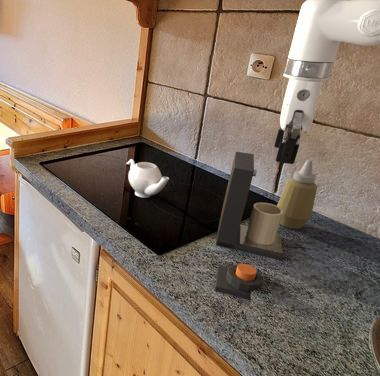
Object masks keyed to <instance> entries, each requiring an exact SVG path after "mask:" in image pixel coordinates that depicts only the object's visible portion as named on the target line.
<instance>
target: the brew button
mask: <svg viewBox="0 0 380 376" xmlns="http://www.w3.org/2000/svg"><path fill="white" fill-rule="evenodd" d="M237 265H238V266H237V269H236V273H235V274H236V276H237V277H238V278H240V279H242V280H245V281H254V279H255V276H256V273H257V271H258V270H257V269H256V268H255V267H254V266H252V265H250V264H248V263H239V264H237Z"/></svg>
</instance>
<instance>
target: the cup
mask: <svg viewBox="0 0 380 376" xmlns="http://www.w3.org/2000/svg"><path fill="white" fill-rule="evenodd" d="M282 216H283V210H282V209H281V208H280V207H278V206H277V204H273V203H269V202H255V203H254V204H253V207H252V210H251V213H250V217H249V221H248V224H247V225H248V228H247V231H246V237H247V238H248V239H249V240H251V241H253V242H255V243H258V244H263V245H270V244H273V243H274V241H275V238H276V235H277V232H278V231H279V228H280V225H281V224H280V222H281V219H282Z"/></svg>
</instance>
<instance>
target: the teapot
mask: <svg viewBox="0 0 380 376" xmlns="http://www.w3.org/2000/svg"><path fill="white" fill-rule="evenodd" d="M125 164H126V165H130V169H129V171H128V176H127V178H128V179H127V180H128V182H129V184H130V186H131V188H132V190H134V195H135V196H137V197H139V198H144V199H146V198H150V197H151V196H155V195H158V194H159V193H160V192H162V190H164V188H165V187H166V185H167V184H168V182H169V180H170V178H169V177H168V176H163V174H162V173H161V170H160V168H159V167H158V166H157V165H156V164H154V163H152V162H147V161H140V162H137V163H135V160H134V159H133V158H130V159H129V160H128V161H127V162H126V163H125Z"/></svg>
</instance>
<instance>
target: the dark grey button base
mask: <svg viewBox="0 0 380 376" xmlns="http://www.w3.org/2000/svg"><path fill="white" fill-rule="evenodd" d="M238 265H239V264H233V265H231V266H229V267H228V266H224V265H222V264H221V265H220V264H218V265H217V269H216V277H215V283H214V284H215V285H214V291H215V292H218V293H222V294H225V295H230V296H233V297H237V298H241V299H244V300H248V301H252V291H258V290H260V289H262V287H263V284H264V279H268V280H271V277H269V276H266V275H262V274H261V273H260V272H259V271H258V270H256V271H257V273H256V276H255V279H254V280H253V281H245V280H242V279H240V278H238V277H237V276H236V274H235V273H236V269H237V266H238Z"/></svg>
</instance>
